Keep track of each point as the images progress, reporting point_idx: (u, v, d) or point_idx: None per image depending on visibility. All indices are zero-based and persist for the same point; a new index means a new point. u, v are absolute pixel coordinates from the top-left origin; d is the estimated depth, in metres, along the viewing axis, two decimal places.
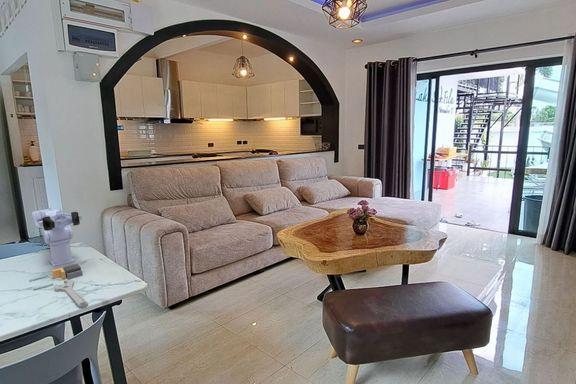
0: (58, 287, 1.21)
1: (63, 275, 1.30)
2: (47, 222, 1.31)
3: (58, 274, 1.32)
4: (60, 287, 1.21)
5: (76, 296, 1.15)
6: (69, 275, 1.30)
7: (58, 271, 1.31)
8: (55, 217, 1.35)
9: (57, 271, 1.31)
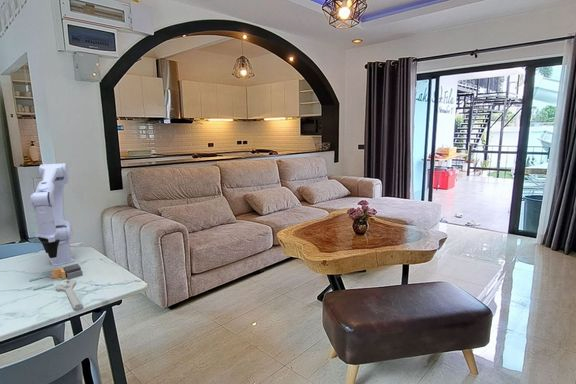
0: (59, 287, 1.21)
1: (63, 275, 1.30)
2: None
3: (58, 274, 1.32)
4: (61, 287, 1.21)
5: (74, 297, 1.14)
6: (69, 275, 1.30)
7: (58, 271, 1.31)
8: None
9: (57, 271, 1.31)
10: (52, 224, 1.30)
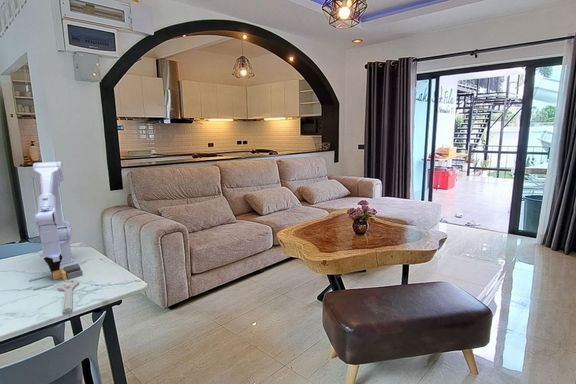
0: (61, 286, 1.22)
1: (64, 276, 1.29)
2: None
3: (59, 275, 1.31)
4: (63, 287, 1.22)
5: (68, 300, 1.13)
6: (69, 275, 1.30)
7: (59, 272, 1.31)
8: None
9: (58, 272, 1.30)
10: (56, 243, 1.29)
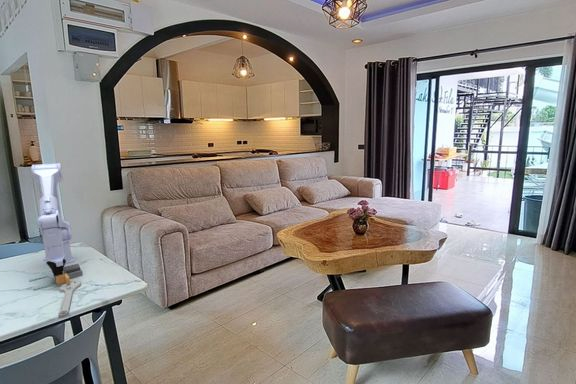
0: (63, 287, 1.21)
1: (67, 281, 1.25)
2: None
3: (62, 280, 1.27)
4: (64, 288, 1.21)
5: (66, 302, 1.12)
6: (69, 275, 1.30)
7: (62, 277, 1.26)
8: None
9: (61, 277, 1.26)
10: (60, 247, 1.25)
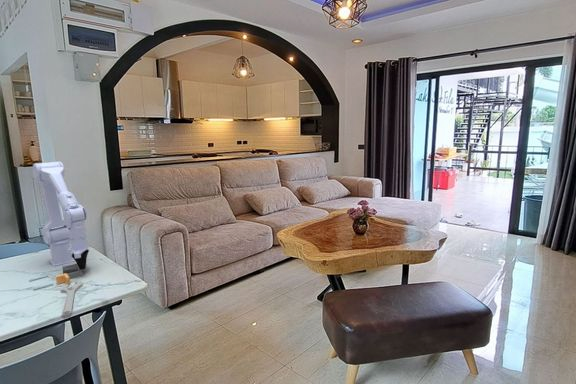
0: (64, 288, 1.21)
1: (67, 281, 1.25)
2: None
3: (62, 280, 1.27)
4: (66, 288, 1.20)
5: (69, 302, 1.11)
6: (69, 275, 1.30)
7: (62, 277, 1.26)
8: None
9: (61, 277, 1.26)
10: (82, 240, 1.33)
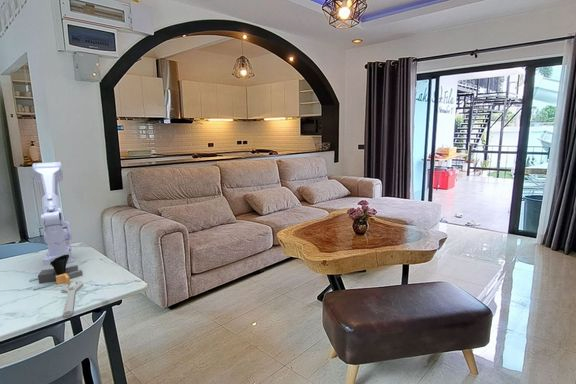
0: (65, 288, 1.20)
1: (67, 281, 1.25)
2: None
3: (62, 280, 1.27)
4: (66, 288, 1.20)
5: (70, 302, 1.11)
6: (69, 275, 1.30)
7: (62, 277, 1.26)
8: None
9: (61, 277, 1.26)
10: (56, 245, 1.27)
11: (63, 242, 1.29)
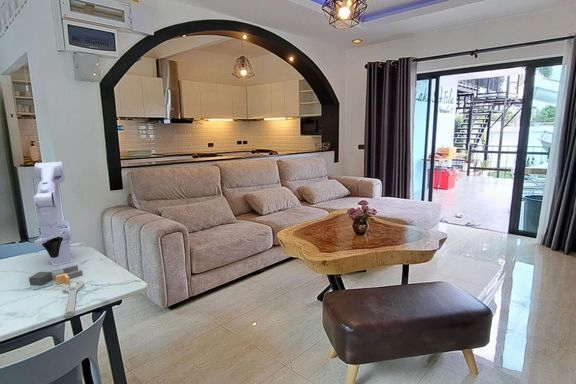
0: (66, 288, 1.20)
1: (67, 281, 1.25)
2: None
3: (62, 280, 1.27)
4: (67, 289, 1.20)
5: (71, 302, 1.11)
6: (69, 275, 1.30)
7: (62, 277, 1.26)
8: None
9: (61, 277, 1.26)
10: (49, 227, 1.25)
11: (56, 224, 1.27)
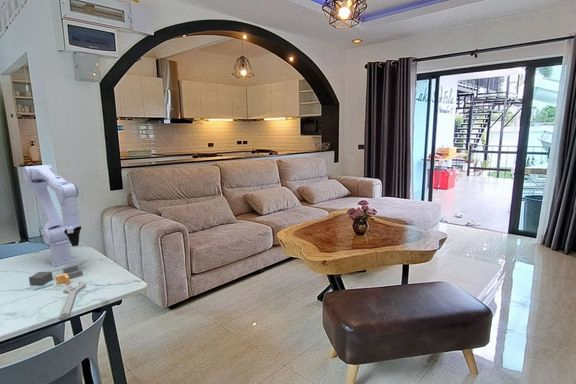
0: (67, 288, 1.20)
1: (67, 281, 1.25)
2: None
3: (62, 280, 1.27)
4: (68, 289, 1.20)
5: (68, 303, 1.11)
6: (69, 275, 1.30)
7: (62, 277, 1.26)
8: None
9: (61, 277, 1.26)
10: (74, 216, 1.34)
11: (78, 213, 1.36)
